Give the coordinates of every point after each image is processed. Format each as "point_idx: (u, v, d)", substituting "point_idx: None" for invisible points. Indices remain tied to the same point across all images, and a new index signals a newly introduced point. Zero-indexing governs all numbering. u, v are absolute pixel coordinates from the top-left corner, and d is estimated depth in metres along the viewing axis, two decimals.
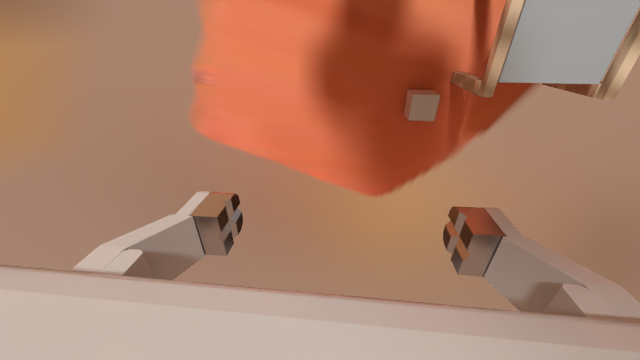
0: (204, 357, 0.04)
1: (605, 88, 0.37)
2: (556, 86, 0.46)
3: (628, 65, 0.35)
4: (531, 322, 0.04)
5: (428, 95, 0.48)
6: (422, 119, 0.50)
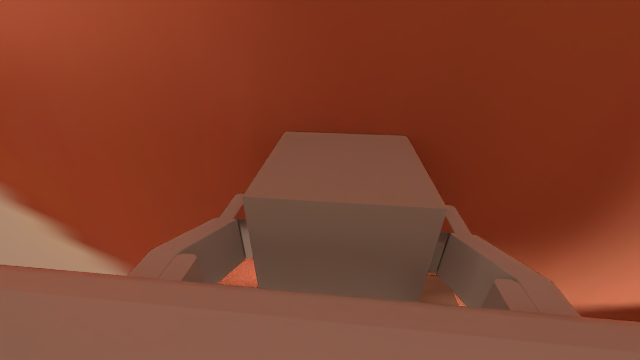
0: (204, 357, 0.04)
1: None
2: None
3: None
4: (531, 321, 0.04)
5: (416, 285, 0.08)
6: (264, 270, 0.08)
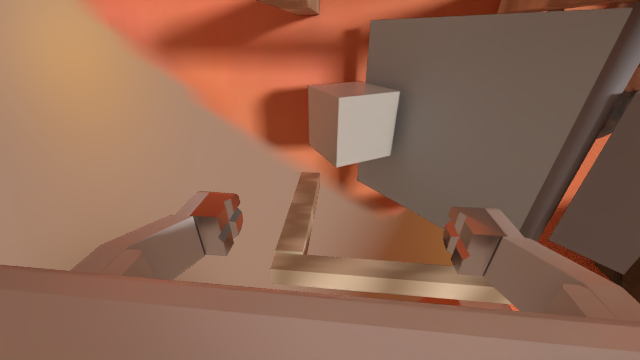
0: (204, 357, 0.04)
1: (293, 264, 0.18)
2: (297, 191, 0.25)
3: (338, 283, 0.17)
4: (531, 321, 0.04)
5: (337, 139, 0.18)
6: (310, 119, 0.21)
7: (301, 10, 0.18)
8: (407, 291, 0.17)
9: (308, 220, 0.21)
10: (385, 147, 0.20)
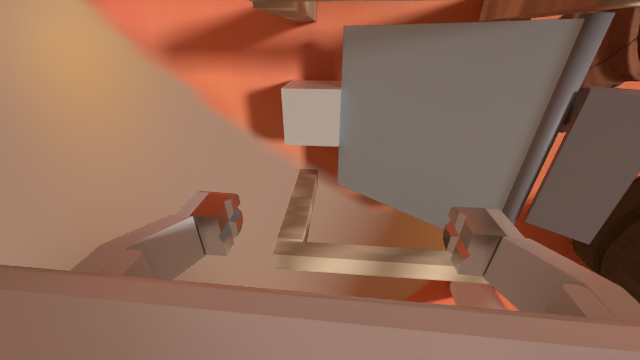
0: (204, 357, 0.04)
1: (294, 250, 0.19)
2: (297, 186, 0.27)
3: (335, 267, 0.19)
4: (531, 321, 0.04)
5: (284, 121, 0.23)
6: None
7: (300, 18, 0.19)
8: (399, 273, 0.19)
9: (307, 212, 0.23)
10: (332, 138, 0.23)
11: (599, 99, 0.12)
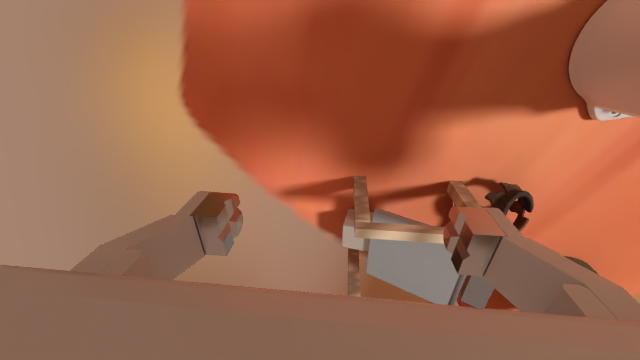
0: (204, 357, 0.04)
1: None
2: (349, 262, 0.49)
3: None
4: (531, 321, 0.04)
5: (343, 237, 0.45)
6: None
7: None
8: None
9: (359, 282, 0.45)
10: (366, 248, 0.45)
11: None
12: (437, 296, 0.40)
